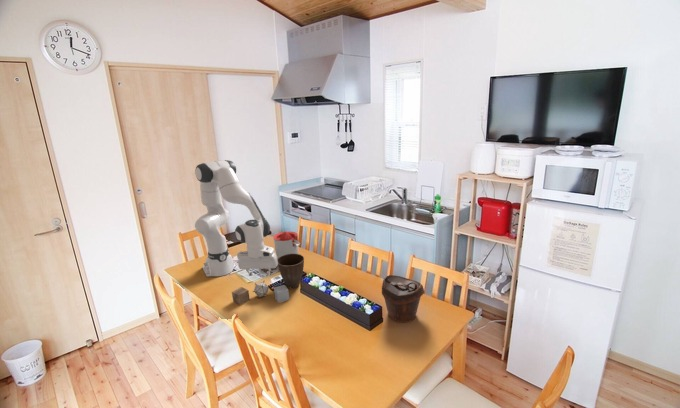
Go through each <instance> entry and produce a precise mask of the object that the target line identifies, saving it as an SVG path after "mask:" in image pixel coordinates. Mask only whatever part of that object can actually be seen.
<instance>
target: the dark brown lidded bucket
mask: <svg viewBox="0 0 680 408" xmlns="http://www.w3.org/2000/svg"><path fill="white" fill-rule="evenodd" d="M424 294H425V289H424V286H423V284H422V283H420V282H419V281H417V280H414V279H410V278H406V277H405V276H404V277H403V276H401V275H400V276H399V275H392V274H390V275H389V274H388V275H385V277H383V280H382V285H381V295H382V297H383V299H384V302H385V307H386V310H387V315H388V317H389V318H390V319H392V320H393V321H394V322H398V323H408V322H411V321H413V320H415V318H416V317H417V312H418V308H419V305H420V301H421V297H423V295H424Z"/></svg>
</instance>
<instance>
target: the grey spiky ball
mask: <svg viewBox="0 0 680 408" xmlns="http://www.w3.org/2000/svg"><path fill="white" fill-rule="evenodd" d="M270 288H271V286H270V287H269V286H268V285H267V284H266V282H265V281H261V282H259V283H256V282H255V283H254V288H253V289H254V290H252V293H255V295H256V296H257V297H258V298H257V299H260V298H261V297H264V296H269V294H268V292H269V290H270Z"/></svg>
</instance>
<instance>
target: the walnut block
mask: <svg viewBox="0 0 680 408" xmlns="http://www.w3.org/2000/svg"><path fill="white" fill-rule="evenodd" d="M231 297H232V302H233V303H234V304H236V305H238V306H242V305H244V304H245V303H247V302H249V301H251V299H250V293H249V289H247V288H244V287H242V286H240V287H238V288H236V289H234V290H232V291H231Z"/></svg>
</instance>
